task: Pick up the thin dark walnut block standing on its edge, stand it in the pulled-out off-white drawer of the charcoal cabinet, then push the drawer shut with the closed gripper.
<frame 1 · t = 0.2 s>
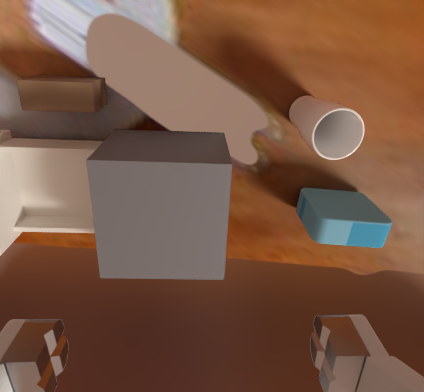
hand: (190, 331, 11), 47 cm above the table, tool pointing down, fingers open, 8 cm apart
drinking glass: (303, 111, 55), on the table
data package: (327, 199, 62), on the table
walnut block: (73, 89, 53), on the table
cabinet: (170, 181, 60), on the table
drawer: (47, 197, 51), point 8 cm above the table, slide at 16.0 cm
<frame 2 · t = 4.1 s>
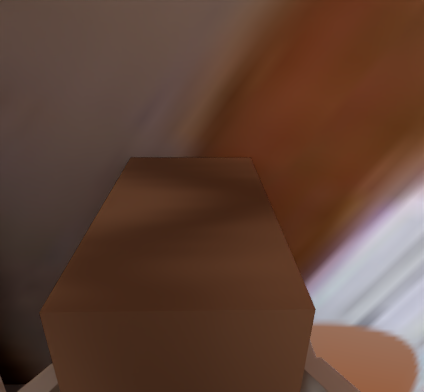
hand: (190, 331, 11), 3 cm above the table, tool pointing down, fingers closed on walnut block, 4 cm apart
walnut block: (192, 277, 13), on the table, touching gripper
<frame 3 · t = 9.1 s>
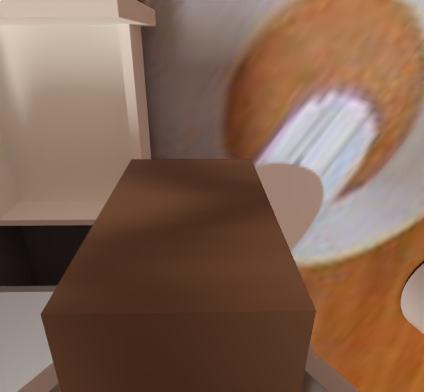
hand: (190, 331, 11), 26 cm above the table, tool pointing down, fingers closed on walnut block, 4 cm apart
walnut block: (193, 279, 13), point 23 cm above the table, touching gripper
cabinet: (100, 261, 41), on the table
drawer: (37, 128, 26), point 8 cm above the table, slide at 16.0 cm
when the fingers open (6 cm above the table, at t = 14.0 s): walnut block drops 1 cm, resting on drawer.
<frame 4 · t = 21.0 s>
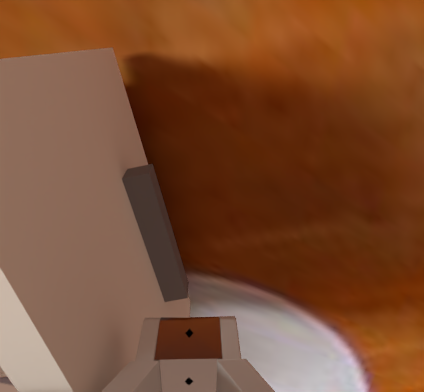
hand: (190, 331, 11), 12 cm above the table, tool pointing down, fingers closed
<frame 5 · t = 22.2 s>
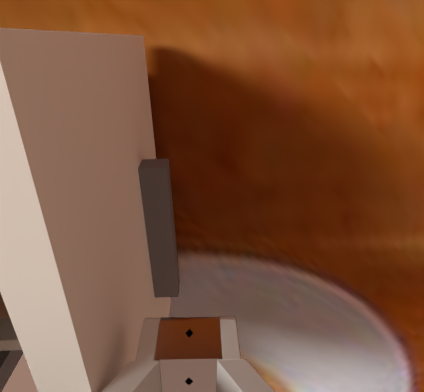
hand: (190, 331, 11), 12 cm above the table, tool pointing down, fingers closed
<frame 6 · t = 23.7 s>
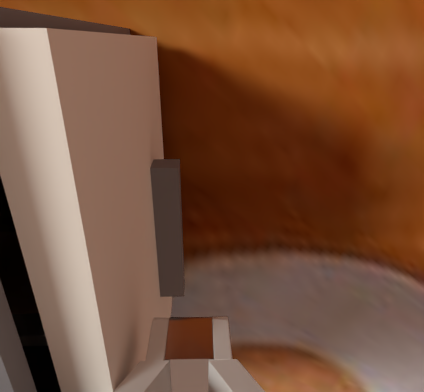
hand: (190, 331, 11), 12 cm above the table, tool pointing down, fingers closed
walnut block: (2, 200, 20), point 2 cm above the table, touching drawer
cabinet: (1, 185, 21), on the table
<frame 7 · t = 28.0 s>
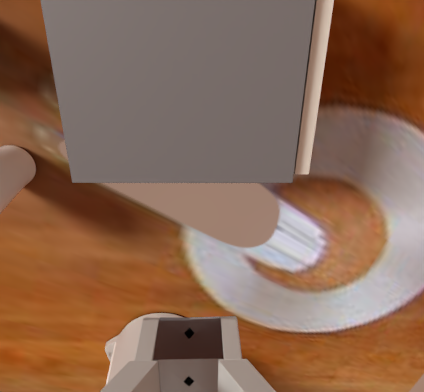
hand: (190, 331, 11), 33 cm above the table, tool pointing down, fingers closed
drinking glass: (17, 163, 43), on the table
cabinet: (188, 55, 38), on the table
drawer: (209, 59, 31), point 8 cm above the table, slide at 0.0 cm, touching walnut block
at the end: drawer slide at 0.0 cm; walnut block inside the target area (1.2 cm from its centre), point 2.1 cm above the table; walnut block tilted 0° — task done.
